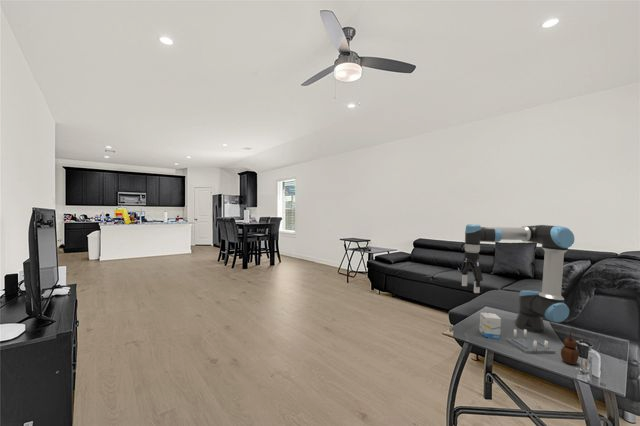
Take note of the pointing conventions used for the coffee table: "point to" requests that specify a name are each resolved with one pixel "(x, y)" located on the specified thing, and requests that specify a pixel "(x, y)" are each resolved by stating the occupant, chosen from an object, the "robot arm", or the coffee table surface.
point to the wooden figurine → (569, 351)
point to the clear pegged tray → (529, 344)
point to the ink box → (490, 325)
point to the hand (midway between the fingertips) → (470, 289)
